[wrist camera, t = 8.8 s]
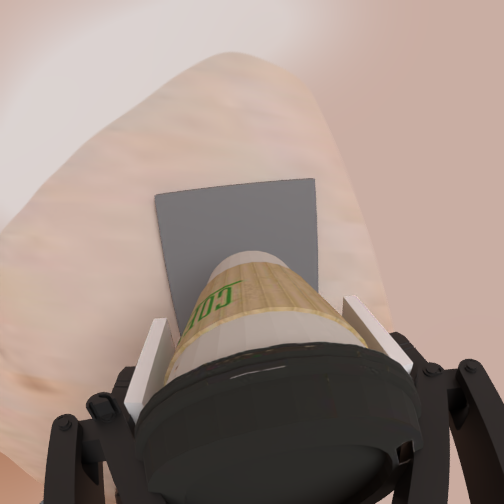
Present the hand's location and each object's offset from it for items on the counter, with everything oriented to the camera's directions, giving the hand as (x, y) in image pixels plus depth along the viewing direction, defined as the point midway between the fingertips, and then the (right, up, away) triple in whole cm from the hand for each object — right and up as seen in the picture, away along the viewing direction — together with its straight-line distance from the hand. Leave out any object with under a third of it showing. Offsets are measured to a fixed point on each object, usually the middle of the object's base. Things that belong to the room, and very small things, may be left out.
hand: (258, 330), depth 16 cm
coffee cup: (0, +1, +5) cm, 5 cm away
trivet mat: (-1, +4, +12) cm, 13 cm away
